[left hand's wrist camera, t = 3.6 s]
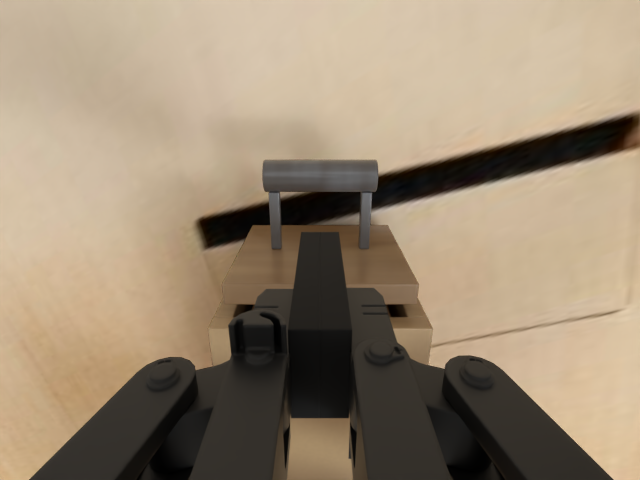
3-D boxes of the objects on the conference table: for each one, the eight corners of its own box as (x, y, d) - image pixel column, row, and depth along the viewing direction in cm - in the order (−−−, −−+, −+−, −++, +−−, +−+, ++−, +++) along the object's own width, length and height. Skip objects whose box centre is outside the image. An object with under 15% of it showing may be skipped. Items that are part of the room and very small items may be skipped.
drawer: (247, 149, 24) (209, 177, 16) (393, 149, 24) (431, 177, 16) (267, 435, 34) (250, 545, 26) (373, 435, 34) (390, 545, 25)
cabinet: (248, 243, 28) (207, 328, 18) (391, 243, 28) (433, 328, 18) (264, 450, 36) (242, 590, 26) (376, 450, 36) (398, 590, 26)
